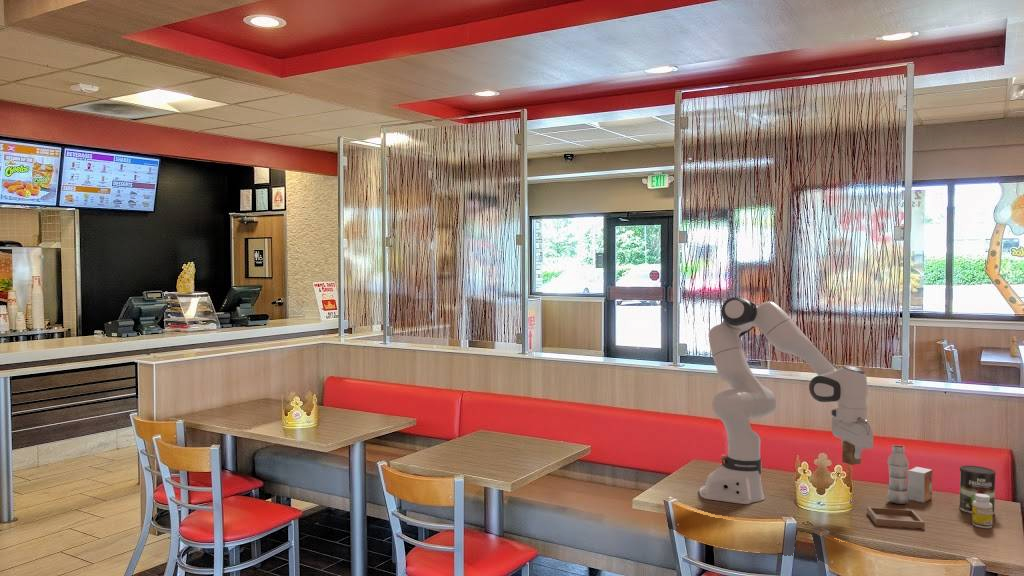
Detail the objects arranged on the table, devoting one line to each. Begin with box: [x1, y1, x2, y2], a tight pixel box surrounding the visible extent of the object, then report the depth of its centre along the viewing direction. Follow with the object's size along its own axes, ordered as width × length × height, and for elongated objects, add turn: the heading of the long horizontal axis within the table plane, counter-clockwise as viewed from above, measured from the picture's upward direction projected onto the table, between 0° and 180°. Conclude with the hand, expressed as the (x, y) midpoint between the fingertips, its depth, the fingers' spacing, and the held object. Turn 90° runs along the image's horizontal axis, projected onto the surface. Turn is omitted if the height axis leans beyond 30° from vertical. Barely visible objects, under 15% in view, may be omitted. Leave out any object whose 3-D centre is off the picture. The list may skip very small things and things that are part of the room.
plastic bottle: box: [886, 444, 910, 505], centre depth 254 cm, size 6×7×20 cm
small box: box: [907, 466, 933, 504], centre depth 259 cm, size 8×6×10 cm
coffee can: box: [958, 465, 997, 516], centre depth 247 cm, size 10×10×14 cm
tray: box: [866, 506, 926, 530], centre depth 236 cm, size 14×12×2 cm
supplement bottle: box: [971, 494, 993, 529], centre depth 232 cm, size 5×5×10 cm
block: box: [841, 441, 862, 466], centre depth 244 cm, size 4×4×7 cm
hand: (851, 455), depth 244 cm, fingers closed on block, 5 cm apart
